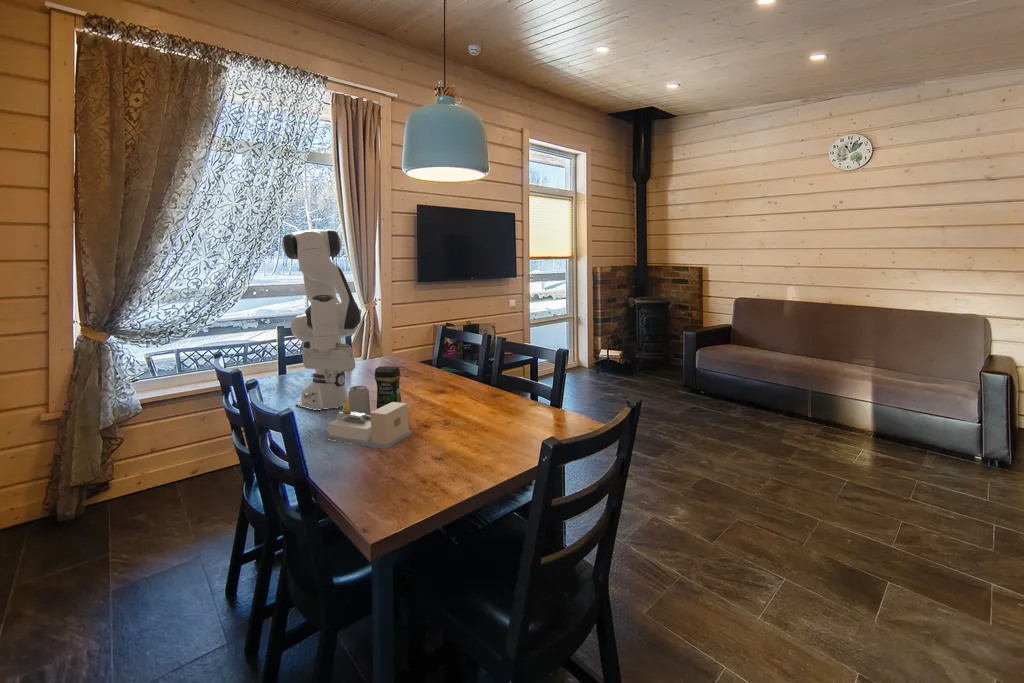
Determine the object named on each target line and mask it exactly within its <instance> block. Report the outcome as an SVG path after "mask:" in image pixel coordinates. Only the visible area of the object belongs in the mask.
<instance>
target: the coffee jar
mask: <svg viewBox="0 0 1024 683" xmlns="http://www.w3.org/2000/svg"><path fill="white" fill-rule="evenodd" d="M400 379H401V370H400V367H399V366H394V365H393V366H390V365H386V366H385V365H379V366H377V367H376V368H375V370H374V381H375V384H376V409H378V408H380V407H383V406H385V405H387V404H389V403H391V402H398V403H403V402H402V397H401V388H400Z"/></svg>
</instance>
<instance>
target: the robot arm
mask: <svg viewBox="0 0 1024 683" xmlns="http://www.w3.org/2000/svg"><path fill="white" fill-rule="evenodd" d="M281 247H282V251H283V253H284V254H285V257H287V258H288V259H290V260H297V261H298V265H299V270H300V271H301V273H302V274H303V275H302V276H303V283H304V284H303V285H304V289H305V296H306V299H307V301H308V302H309V303H310V305H309V306H308V307H307V308H306V310H304V313H302V314H299V315H295V316H294V317H293V319H292V320H291V323H290V331H291V333H292V335H293V336H294V337H295V339H297V340H299V341H300V342H302V343H301V347H302V349H303V350H302V364H303V367H304V369H308V370H314V373H310V378H312V381H311V382H309V384H308V385H307V386H306V387H304V388H302V391H301V394H300V396H301V397H300V400H298V401H297V402H295V405H296V404H297V405H301V406H305V407H309V408H312V409H316V410H318V409H324V408H335V407H340V408H342V407H341V406H342V402H343V401H349V396H348V388H347V384H346V372H348V373H349V372H352V371H354V370H355V369H356V361H355V356H354V353H353V352H354V351H353V348H352V347H351V345H349V343H341V342H342V341H341V338H345V337H348V336H352V335H355V333H356V332H357V330H358V328H359V325H360V324H361V321H362V320H361V319H362V315H361V314H362V313H361V310H360V308H359V306H358V304H357V302H356V300H355V298H354V296H353V293H352V291H351V288H350V285H349V283H348V281H347V278H346V276H345V273H344V271H343V270H342V269H341V267H339V266H337V265H336V264H335V263H334V262H333V261H334V259H335V258H336V257H338V255H339V254H340V253H341V249H342V239H341V237H340V234H338V232H337V231H336V230H335V229H325V230H324V229H309V230H303V231H297V232H292V231H291V232H289V233H286V234H285V235H283V237H282V241H281ZM335 289H336V290H335ZM336 293H337V294H338V297H339V298H340V300H339V299H338V297H337V294H336ZM335 409H336V408H335Z"/></svg>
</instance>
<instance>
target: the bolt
mask: <svg viewBox="0 0 1024 683" xmlns="http://www.w3.org/2000/svg"><path fill="white" fill-rule="evenodd" d="M342 406H343V407H342V410H340V411H339V412H336V420H337V419H344V418H351V419H358V420H366V414H365V413H358V412H351V411H350V401H343V402H342Z"/></svg>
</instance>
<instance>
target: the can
mask: <svg viewBox="0 0 1024 683" xmlns="http://www.w3.org/2000/svg"><path fill="white" fill-rule="evenodd" d="M347 393H348V396H349V401H350V411H351V412H358V413H365V414H366V415H370V412H371V404H370V402H371V400H370V391H369V389H368V388H367V386H366V385H355V386H351V387H349V391H347Z"/></svg>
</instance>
